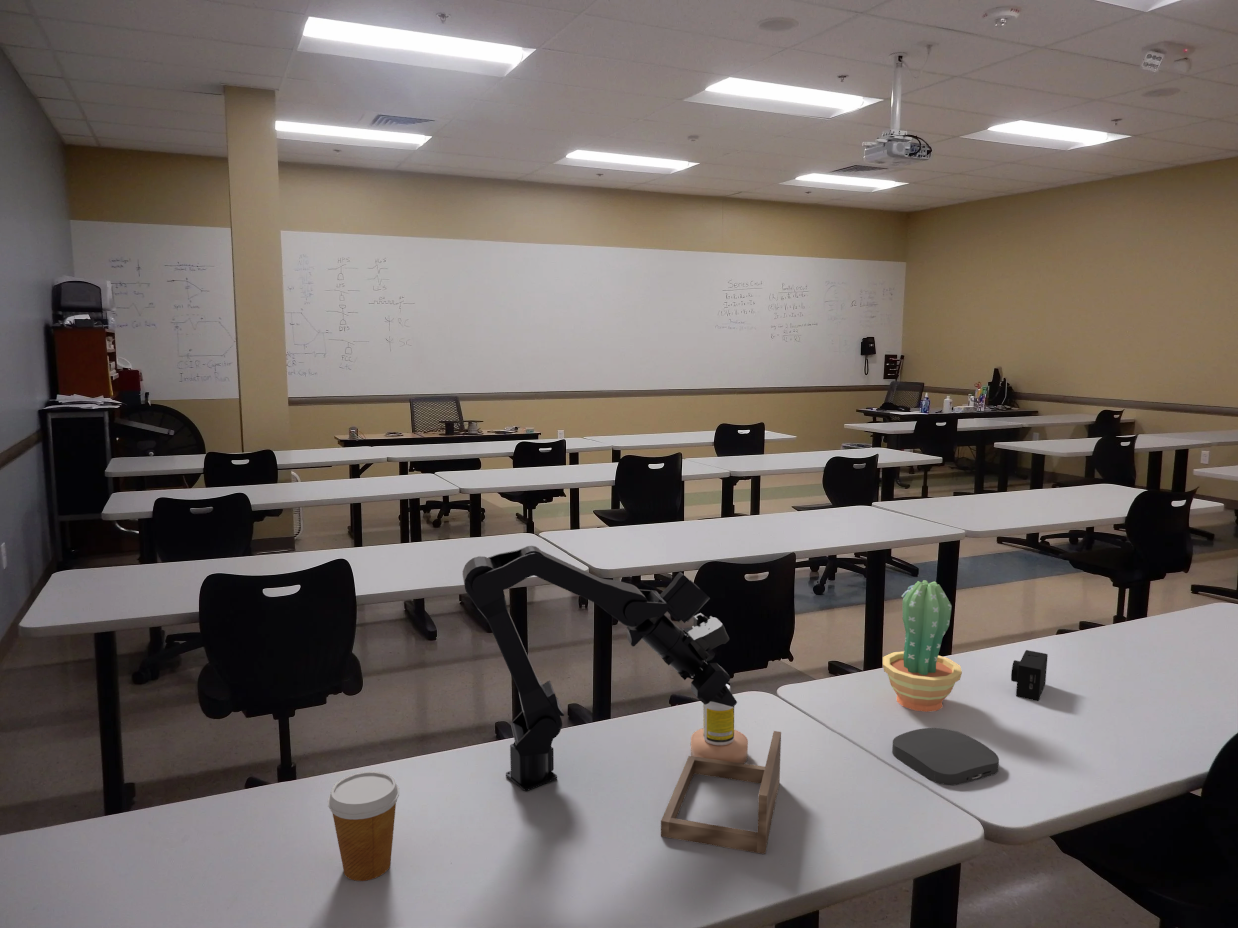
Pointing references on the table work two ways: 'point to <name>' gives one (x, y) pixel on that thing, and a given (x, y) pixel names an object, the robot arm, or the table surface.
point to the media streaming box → (945, 755)
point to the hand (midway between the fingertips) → (727, 695)
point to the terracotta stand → (720, 748)
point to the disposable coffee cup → (364, 822)
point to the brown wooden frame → (734, 771)
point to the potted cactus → (923, 651)
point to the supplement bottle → (718, 723)
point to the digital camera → (1030, 675)
